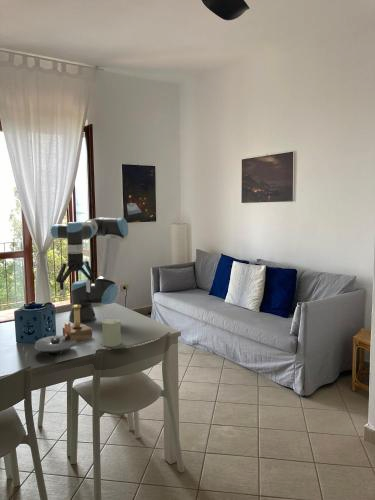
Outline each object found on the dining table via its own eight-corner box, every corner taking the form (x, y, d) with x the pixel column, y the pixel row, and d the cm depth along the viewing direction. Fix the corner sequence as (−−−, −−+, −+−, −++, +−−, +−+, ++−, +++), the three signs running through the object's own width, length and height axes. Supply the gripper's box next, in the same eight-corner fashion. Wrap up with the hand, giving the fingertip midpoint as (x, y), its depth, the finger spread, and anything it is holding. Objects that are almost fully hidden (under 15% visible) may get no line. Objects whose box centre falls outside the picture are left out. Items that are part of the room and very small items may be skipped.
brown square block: (62, 336, 212) (62, 327, 211) (82, 332, 219) (82, 323, 218) (72, 342, 204) (72, 332, 203) (92, 337, 211) (92, 328, 210)
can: (112, 348, 197) (111, 323, 195) (98, 344, 202) (97, 320, 200) (124, 342, 204) (124, 319, 203) (111, 339, 209) (110, 316, 208)
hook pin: (71, 337, 211) (70, 305, 209) (79, 335, 214) (78, 303, 212) (75, 339, 208) (74, 307, 206) (83, 337, 211) (82, 305, 209)
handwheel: (49, 355, 178) (48, 336, 177) (27, 345, 189) (26, 328, 188) (83, 343, 192) (82, 326, 191) (60, 335, 203) (59, 319, 202)
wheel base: (46, 351, 191) (46, 345, 191) (59, 348, 195) (58, 342, 195) (52, 355, 187) (51, 348, 187) (64, 352, 191) (64, 345, 191)
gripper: (54, 255, 195) (55, 298, 197) (100, 251, 211) (101, 291, 214) (48, 253, 200) (49, 296, 203) (93, 250, 217) (94, 289, 219)
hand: (76, 293), depth 208 cm, fingers open, 13 cm apart
